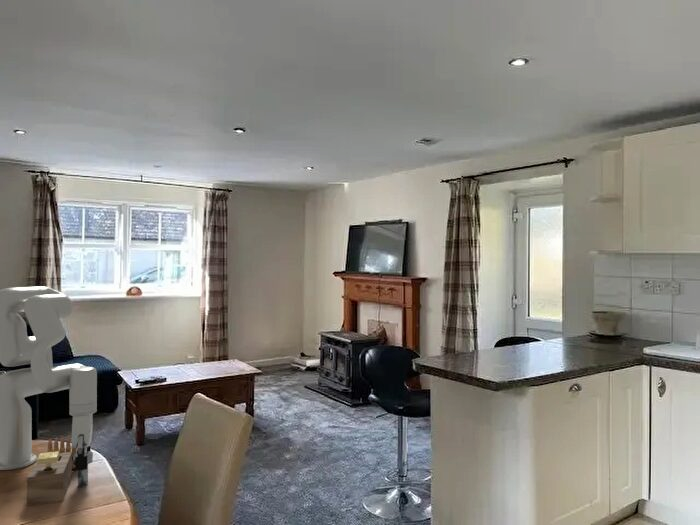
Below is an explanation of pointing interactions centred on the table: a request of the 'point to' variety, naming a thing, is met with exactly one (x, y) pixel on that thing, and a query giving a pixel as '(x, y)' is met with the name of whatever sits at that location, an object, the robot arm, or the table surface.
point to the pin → (84, 473)
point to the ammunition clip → (62, 447)
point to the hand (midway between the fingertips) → (83, 464)
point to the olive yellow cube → (48, 459)
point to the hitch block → (49, 481)
